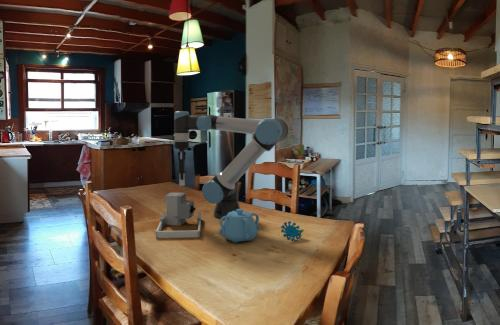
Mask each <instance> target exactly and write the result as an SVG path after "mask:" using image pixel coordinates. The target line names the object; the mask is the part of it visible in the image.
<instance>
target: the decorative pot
mask: <svg viewBox="0 0 500 325" xmlns="http://www.w3.org/2000/svg"><path fill="white" fill-rule="evenodd" d="M253 216H255V219H254V217H253ZM259 219H260V216H259V214H257V213H254V212H251V213H250V212H249V211H246V210H244V209H243V208H240V209H237V210H236V211H232V212H229V213H228V214H227V216H223V217H222V218H219V224H220V228H221V229H219V230H218V235H220V236H224V237H225V238H226V239H227V240H229V241H231V242H232V243H234V244H236V243H239V242H245V241H247V242H251V241H252V240H254V239H255V238H256V236H257V234H258V231H260V225H258V224H259V221H260V220H259ZM223 220H224V221H223ZM250 240H251V241H250Z"/></svg>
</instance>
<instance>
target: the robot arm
mask: <svg viewBox="0 0 500 325" xmlns="http://www.w3.org/2000/svg"><path fill="white" fill-rule="evenodd" d="M173 117H174V119H173V121H174V133H173V135H172V136H173V137H174V149H175V150H178V152H177V156H178V158H177V159H178V172H177V174H178V177H179V178H178V180H179V182H178V183H179V186H180V187H181V186H185V185H186V183H185V180H186V179H185V177H186V176H185V174H186V173H187V172H186V168H185V167H186V166H185V165H186V162H185V161H186V155H187V152H186V151H185V150H188V149H190V142H189V141H190V131H203V132H204V131H209V130H212V131H221V132H224V131H225V132H230V133H231V132H232V133H240V134H249V135H251V140H250V141H249V142H248V143H247V144H246V145H245V146H244V148H242V150H241V151H240V152H239V153H238V154H237V155H236V156H235V157H234V158H233V159H232V161H231V162H230V163H229V164H228V165H227V166H226V167H225V168H224V170H222V171H221V172H220V171H218V172H217V173H216V174H215V175H214V176H213V177H212V178H211V179H210V180H208V181H206V182H205V183H204V184H203V186H202V190H201V191H202V197H203V198H204V199H205V201H207V202H208V203H209V204H215V206H214V210H213V216H214V218H218V219H221V218H222V217H223V216H227V214H228V213H229V212H232V211H236V210H237V209H241V206H240V203H239V182H240V181H239V180H240V179H241V177H242V176H243V175H244V174H245V173H247V171H248V170H249V169H250V168H251V167H252V166H253V165H254V163H255V162H257V160H258V159H259V158H260V157H262V155H263V154H264V153H265V152H270V151H271V150H272V149H273V148H275V146H276V145H277V144H278V143H280V142H282V141H284V140H285V139H286V138H287V137H288V135H289V125H288V124H287V122H286V121H285V120H283V119H281V118H264V119H263V120H260V119H250V118H249V119H248V118H242V117H241V118H239V117H230V116H221V115H214V114H207V115H204V114H203V115H202V114H200V115H198V114H197V115H191V114H190V113H189V111H186V110H185V111H184V110H183V111H181V110H179V111H178V110H177V111H176V110H175V112H174V116H173Z"/></svg>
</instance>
